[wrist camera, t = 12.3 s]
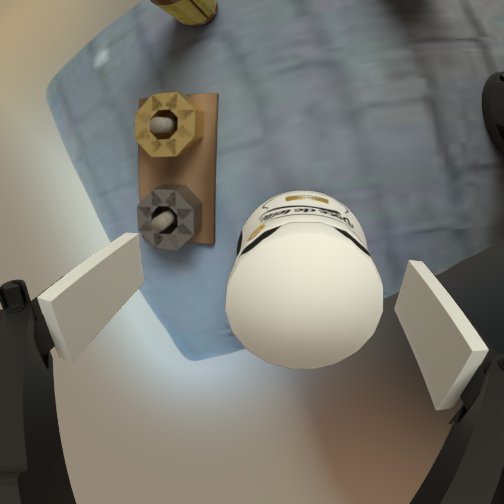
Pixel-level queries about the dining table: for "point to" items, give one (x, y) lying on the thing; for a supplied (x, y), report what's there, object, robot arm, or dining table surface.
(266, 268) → the milk container
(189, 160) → the gear board
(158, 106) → the brass gear
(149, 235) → the steel gear
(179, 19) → the sauce bottle
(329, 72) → the dining table surface
